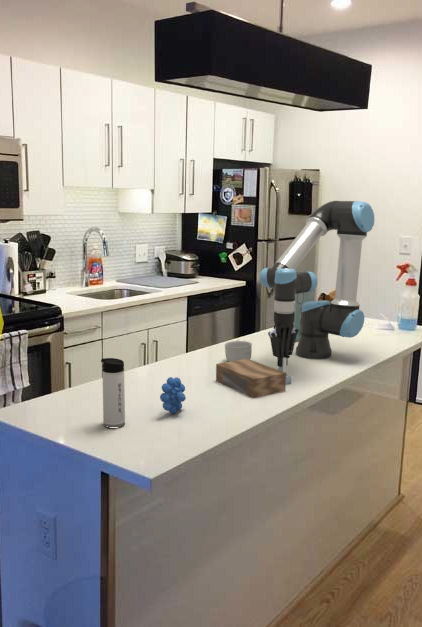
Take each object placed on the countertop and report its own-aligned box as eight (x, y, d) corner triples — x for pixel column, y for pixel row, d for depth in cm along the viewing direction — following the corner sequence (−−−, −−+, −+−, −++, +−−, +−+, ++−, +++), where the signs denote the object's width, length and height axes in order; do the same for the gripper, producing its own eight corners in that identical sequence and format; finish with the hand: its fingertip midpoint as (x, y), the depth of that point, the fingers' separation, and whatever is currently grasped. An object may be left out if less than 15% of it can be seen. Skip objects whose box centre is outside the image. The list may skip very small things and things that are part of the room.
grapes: (172, 421, 186) (172, 383, 184) (155, 417, 190) (154, 379, 187) (195, 410, 195) (195, 374, 193) (177, 406, 199) (178, 370, 197)
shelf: (246, 375, 234) (246, 358, 233) (285, 390, 216) (285, 373, 215) (216, 381, 226) (216, 363, 225) (253, 398, 208) (254, 379, 207)
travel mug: (103, 421, 186) (101, 356, 182) (125, 420, 186) (124, 356, 182) (101, 428, 180) (99, 362, 176) (124, 428, 180) (123, 361, 176)
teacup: (249, 367, 245) (249, 347, 243) (222, 365, 247) (222, 345, 246) (254, 358, 258) (254, 339, 257) (228, 356, 261) (228, 337, 259)
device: (294, 342, 285) (296, 277, 280) (280, 340, 290) (282, 276, 284) (312, 336, 298) (315, 274, 292) (299, 334, 303) (301, 273, 297)
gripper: (290, 308, 231) (288, 369, 236) (263, 311, 224) (261, 374, 229) (304, 311, 225) (302, 374, 230) (277, 315, 218) (275, 380, 223)
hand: (282, 374), depth 229 cm, fingers closed
